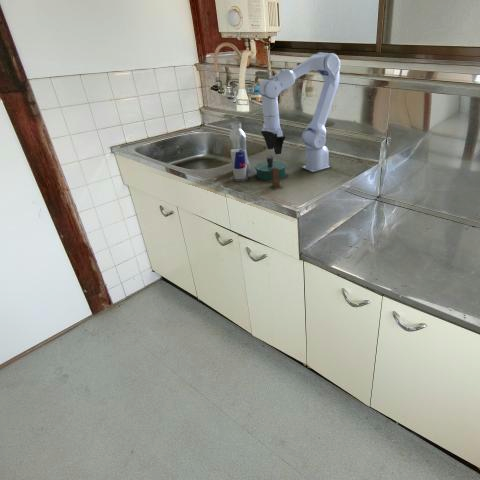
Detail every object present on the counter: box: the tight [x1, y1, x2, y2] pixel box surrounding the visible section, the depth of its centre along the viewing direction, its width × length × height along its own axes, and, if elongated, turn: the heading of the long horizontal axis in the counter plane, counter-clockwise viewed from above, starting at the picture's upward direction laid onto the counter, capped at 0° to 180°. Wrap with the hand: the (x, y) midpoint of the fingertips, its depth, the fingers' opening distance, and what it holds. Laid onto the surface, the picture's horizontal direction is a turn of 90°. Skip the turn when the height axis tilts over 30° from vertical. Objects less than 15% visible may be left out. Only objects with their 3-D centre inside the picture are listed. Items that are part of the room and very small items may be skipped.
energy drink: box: [230, 148, 249, 182], centre depth 140 cm, size 5×5×12 cm
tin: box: [256, 168, 286, 181], centre depth 145 cm, size 11×11×4 cm
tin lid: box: [254, 156, 287, 172], centre depth 143 cm, size 12×12×4 cm
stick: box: [271, 167, 281, 189], centre depth 134 cm, size 2×2×8 cm
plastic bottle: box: [229, 121, 251, 172], centre depth 146 cm, size 6×7×20 cm
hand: (274, 151), depth 140 cm, fingers open, 7 cm apart
